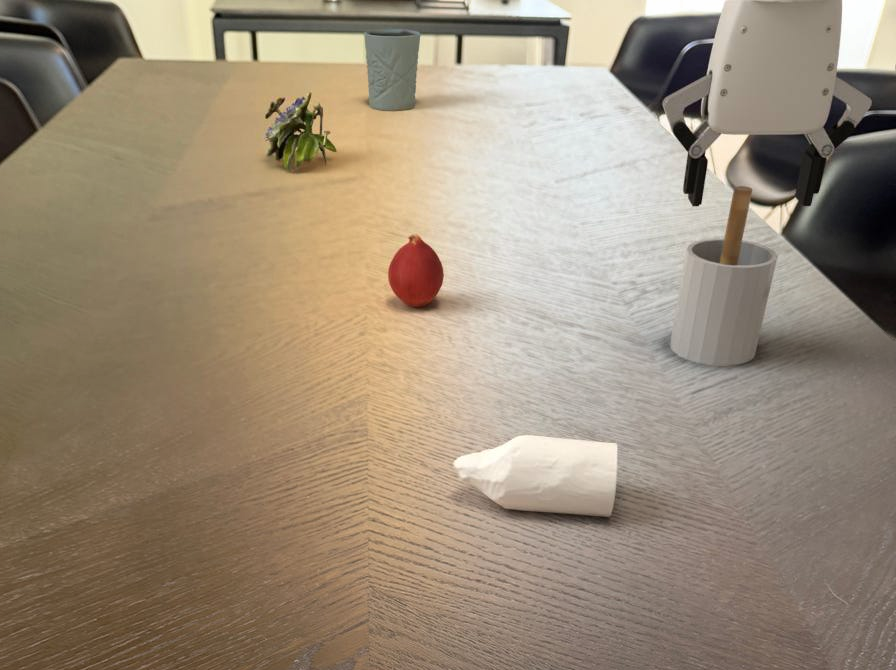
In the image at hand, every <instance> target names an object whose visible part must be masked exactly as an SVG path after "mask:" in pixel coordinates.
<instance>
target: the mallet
mask: <svg viewBox="0 0 896 670" xmlns="http://www.w3.org/2000/svg"><path fill="white" fill-rule="evenodd" d="M752 194H753V188H752V187H749V186H743V185H737V186H735V187H734V188H733V192H732V198H731V202H730V207H729V212H728V217H727V223H726V226H725V227H726V228H725V233H724V238H723V239H724V243H723V248H722V253H721V258H720V263H719V264H727V265H737V263H738V258H739V253H740V248H741V243H742V240H743V237H744V234H745V228H746V223H747V219H748V214H749V209H750V203H751V199H752Z"/></svg>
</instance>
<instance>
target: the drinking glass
mask: <svg viewBox="0 0 896 670" xmlns="http://www.w3.org/2000/svg"><path fill="white" fill-rule="evenodd" d="M363 35H364V48H365V59H366V69H367V82H368V86H367V87H368V102H369V107H370V108H371V109H374V110H378V111H385V112H386V111H387V112H397V111H407V110H411V109H413V108H414V107H415V106H416V105H415V104H416V93H417V92H416V91H417V76H418V75H417V74H418V73H417V72H418V63H419V52H420V42H421V33H420V32H419V31H418V30H417V31H416V30H411V29H405V28H403V29H402V28H376V29H369V30H365V31H364V32H363Z"/></svg>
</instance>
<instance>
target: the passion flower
mask: <svg viewBox="0 0 896 670" xmlns="http://www.w3.org/2000/svg"><path fill="white" fill-rule="evenodd" d="M311 99H312V91H308V92H307V95H306V97H305V96H302V97H297V98H296V99H295V101H294V102H292V103H291V105H290V106H288V107H286V109H283V110H282V111H281V110H280V109H279V108H280V107H281V106H282V105H283V104H284V102H285V101H286V97H284V96H283V97H280V96H278V97H277V99H276V100H275V102H274V101H271V102H270V104H269V108H268V110H267V111H266V112H265V113H264V114H265V116H264V118H265V120H268V119H269V118H270V117H271V116H272V115H273V114H274V113H277V114H278V116H277V117H275V120H274V123H271V126H269V127H268V128H267V131H266V132H265V136H266V137H264V140H265V142H267V141H268V144H269V147H268V150H267V153H266V156H267V157H271V156H273V158H274V159H275V161H280V160H282V159H283V160H282V162H283V166H284V169H285V170H287V172H288V173H291V171H292V170H291V169H292V168H291V167H292V163H293V160H294V164H295V167H296V168H299V167H301V166H302V165H304V163H305V162H306V163H310V162H312V161H313V160H315V158H316V157H317V155H318V154H319V150H320V152H321V154H322V157H323V160H324V164H325V165H327V164H328V163H327V158H326V157H327V156H326V150H328V151H330V152H333V153H337V148H336V146H335V145H334V144H333V142H332V141H331V140H330V139H329V138H328V136H329V135H331V131H330V130H324V131H323V120H324V119H323V117H324V108H323V106H322V105H321V103H320V102H319V101H317V102H316V103H315V104H314V105H312V108H313V110H312V111H311V110H309V108H308V106H309V104H310V102H311ZM318 116H319V118H320V119H319V133H313V125H314V121H315V120H316V119H317V117H318ZM297 132H298V133H299V134H297ZM323 133H324V134H323ZM266 138H267V139H266Z"/></svg>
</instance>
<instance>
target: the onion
mask: <svg viewBox="0 0 896 670" xmlns="http://www.w3.org/2000/svg"><path fill="white" fill-rule="evenodd" d="M444 277H445V274H444V266H443V264H442V261H441V259H440V257H439V255H438V254H437V252H436V251H435V249H433V247H432V246H430V245H429V244H428V243H426V242H425V241H424V240H423V239H422V237H421V236H420V235H419V234H417V233H413V234H411V235H409V236H408V242H407V243H406V244H404V245H402V246H401V247H400V248H399V249H398V250H397V251H396V252H395V254H394V255H393V258H392V260H391V261H390V264H389V267H388V272H387V278H388V284H389V286H390V289H391V291H392V292H393V294H394V295H395V296H396V297H397V299H399V300H400V301H401V302H403V303H404V304H405V305H406V306H407V307H411V308H422V307H425V306H427V305H429V304H430V303H431V302H432V301H433V300H434V299H435V298H436V297H437V296H438V294H439V292H440V290H441V288H442V286H443V284H444Z"/></svg>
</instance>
